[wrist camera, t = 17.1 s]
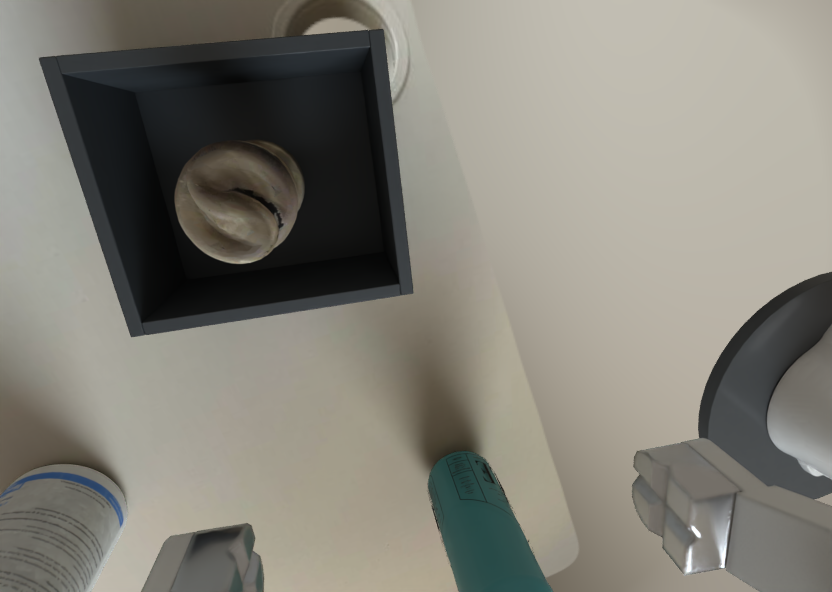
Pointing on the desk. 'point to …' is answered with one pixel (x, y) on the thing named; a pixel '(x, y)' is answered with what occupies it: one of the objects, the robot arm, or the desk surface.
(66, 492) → the supplement tub
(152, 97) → the bin
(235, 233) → the light bulb
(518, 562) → the beverage bottle
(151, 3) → the desk surface
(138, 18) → the desk surface
